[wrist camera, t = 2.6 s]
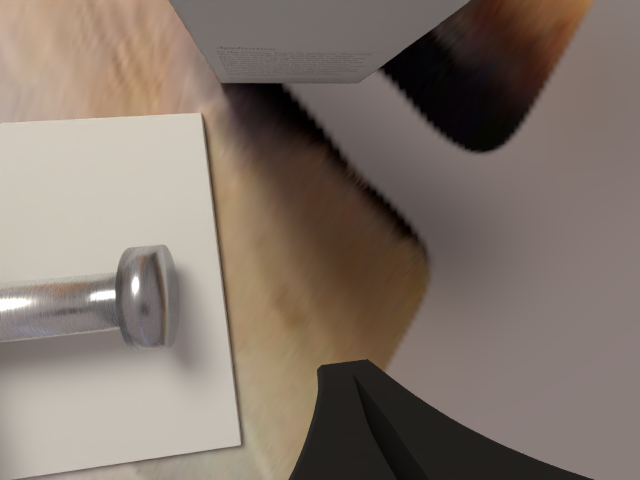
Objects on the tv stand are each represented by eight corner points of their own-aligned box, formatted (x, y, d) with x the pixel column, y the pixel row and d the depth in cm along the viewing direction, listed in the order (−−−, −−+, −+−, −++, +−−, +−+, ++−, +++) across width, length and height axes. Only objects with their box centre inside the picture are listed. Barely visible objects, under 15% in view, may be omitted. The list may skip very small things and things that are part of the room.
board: (241, 436, 21) (240, 445, 20) (-129, 492, 19) (-142, 502, 18) (202, 114, 18) (200, 112, 17) (-255, 138, 15) (-275, 137, 15)
